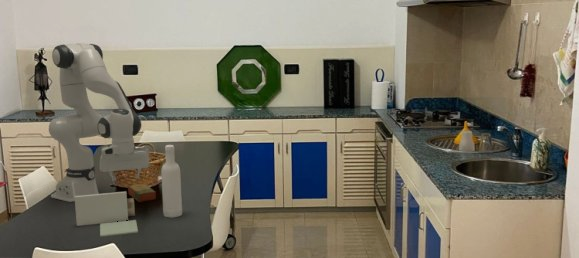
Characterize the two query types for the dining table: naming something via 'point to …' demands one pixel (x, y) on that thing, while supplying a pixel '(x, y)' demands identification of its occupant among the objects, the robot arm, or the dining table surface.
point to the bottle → (171, 185)
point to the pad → (118, 228)
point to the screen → (101, 208)
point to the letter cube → (130, 207)
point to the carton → (141, 192)
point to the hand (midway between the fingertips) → (125, 180)
